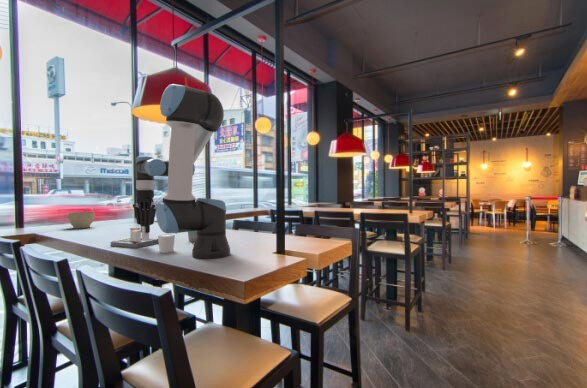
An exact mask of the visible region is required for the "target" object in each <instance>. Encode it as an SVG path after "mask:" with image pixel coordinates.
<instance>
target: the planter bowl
mask: <svg viewBox="0 0 587 388" xmlns="http://www.w3.org/2000/svg"><path fill="white" fill-rule="evenodd" d="M95 214H96V212H95V211H78V212H67V213H66V216H67V220H68V222H69V224H70V226H72V227H73V229H85V228H86V229H88V228H90V227H91V225H92V223H93V222H94V220H95Z"/></svg>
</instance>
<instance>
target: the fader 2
mask: <svg viewBox="0 0 587 388" xmlns="http://www.w3.org/2000/svg"><path fill="white" fill-rule="evenodd" d="M130 238H131V241H136V242H137V241H141V238H142V233H141V229H140V230H132V231H131V230H130Z"/></svg>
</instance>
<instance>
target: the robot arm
mask: <svg viewBox="0 0 587 388" xmlns="http://www.w3.org/2000/svg"><path fill="white" fill-rule="evenodd" d="M159 105H160V106H159V109H160V114H161V115H162V116H163V117H165V123H166V124H167V125H168V127H169V147H168V149H169V151H168V159H167V160H166V159H160V158H154V157H153V156H148V155H138V156H136V157H135V158H136V159H135V188H136V190H135V197H136V199H137V200H136V203H134V204H132V207H133V209H134V214H135V219H136V223H137V224H136V225H139V226H140V230H141V238H142V240H149V239H150V233H151V232H150V231H151V227H150V226H152V225H154V224H155V218H156V222H157V224H158V227H159V229H160V230H161V231H162V232H163V233H165V234H174V235H175V234H176V235H177V234H179V233H181V234H182V233H188V232H191V231H197V237H196V240H195V242H194V244H193V248H192V252H191V253H192V254H191V255H192V257H193V258H195V259H206V260H207V259H221V258H224V257H228V256H230V255H231V247H230V244H229V241H228V238H227V234H226V233H227V231H226V230H227V223H226V222H227V220H226V218H227V216H226V215H227V214H226V213H227V207H226V202H225V201H224V200H222V199H214V198H204V197H197V198H196V197H195V196H194V195H193V177H194V174H195V171H196V167H195V163H196V161H197V160H198V158H199V156H200V155H201V153H202V152H203V150H204V149H205V147H206V145H207V144H208V142H209V140H210V139H211V137H212V136H213V134H214V133H217V132H218V131H219V130H220V128H221V126H222V124H223V122H224V116H225V114H224V113H225V112H224V107H223V104H222V102H221V101H220V99H219V98H218V97H217V96H216V95H215V94H213V93H212V92H210V91H205V90H201V89H198V88H194V87H190V86H187V85H184V84H183V85H182V84H175V83H172V84H169V85H167V87H166V88H165V89H164V91H163V93H162V95H161V99H160V104H159ZM155 177H166V178H167V192H166V194H164V195H163V196H162V201H160V202H159V203H155V202H154V198H155V190H154V189H155V181H154V180H155V179H154V178H155Z"/></svg>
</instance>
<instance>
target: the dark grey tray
mask: <svg viewBox="0 0 587 388" xmlns="http://www.w3.org/2000/svg"><path fill="white" fill-rule="evenodd" d="M157 244H158V245H159V241H158V238H149V240H142V237H141V241H137V242H136V241H131V237H128V238H122V239H117V240H112V241H110V247H116V248H117V247H118V248H130V249H131V248H132V249H139V248H144V247H149V246H152V245H157Z"/></svg>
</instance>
